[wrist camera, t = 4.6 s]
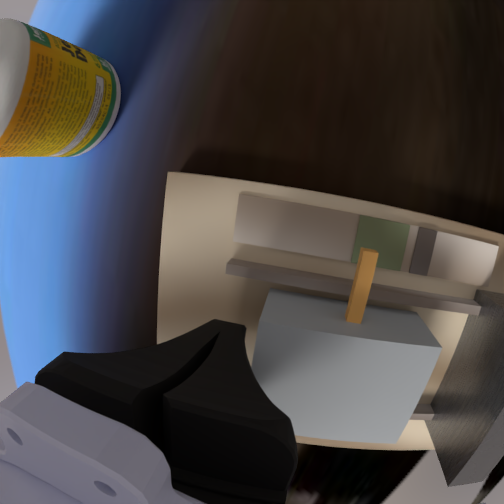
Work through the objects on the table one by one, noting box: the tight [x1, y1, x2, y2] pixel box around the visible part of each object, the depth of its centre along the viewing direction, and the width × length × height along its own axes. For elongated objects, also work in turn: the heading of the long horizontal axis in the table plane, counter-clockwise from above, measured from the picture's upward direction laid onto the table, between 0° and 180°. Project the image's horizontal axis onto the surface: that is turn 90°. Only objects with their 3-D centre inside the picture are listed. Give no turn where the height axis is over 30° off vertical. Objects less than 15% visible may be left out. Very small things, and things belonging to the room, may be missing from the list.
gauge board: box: [157, 172, 504, 450], centre depth 13 cm, size 12×16×2 cm
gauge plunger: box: [251, 247, 442, 444], centre depth 11 cm, size 7×6×3 cm
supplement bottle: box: [0, 19, 121, 157], centre depth 9 cm, size 5×5×10 cm
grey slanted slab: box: [424, 289, 504, 487], centre depth 10 cm, size 7×2×5 cm, turn 172°
